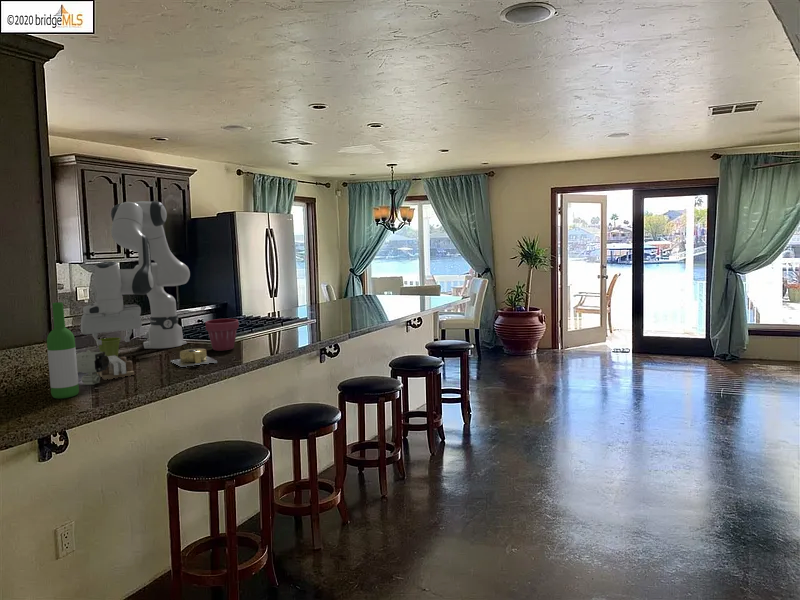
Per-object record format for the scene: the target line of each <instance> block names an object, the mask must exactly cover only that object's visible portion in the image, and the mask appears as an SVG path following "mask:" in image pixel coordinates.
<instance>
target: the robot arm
mask: <svg viewBox="0 0 800 600" xmlns="http://www.w3.org/2000/svg"><path fill="white" fill-rule="evenodd" d="M166 209H167V208H166V207H165V205H164V204H163V203H162V202H160V201H155V200H152V201H147V200H145V201H140V200H139V201H135V202H134V201H133V202H132V201H124V202H122V203H117V204H116V205H114V206H113V207H112V209H111V213H110V217H111V220H112V225H111V231H110V232H111V233H110V234H111V237H112V239H113V241H114V243H116V244H117V245H119V246H120V247H122V248H124V249H126V250H131V251H134V252H136V253H138V256H137V257H138V264H136V265H134V268H125V269H124V268H120V267H119V263H117V262H116V261H111V260H109V261H103V262H98V263H97V264H96V265H94V266H95V267H94V277H93V278H94V289H95V291H96V296H95V302H94V303H91V304H88V305H86V306H83V308H82V312H83V314H82V315H81V319H80V332H81V334H83V335H92V338H94V340H95V342H96V341H97V342H96V345H97V346H98V345H102V340H98V339H99V338H98V337H99V334H103V333H111V332H119V331H126V332H127V334H126V336H123V337H124V342H125V343H127V342H130V341H131V340H130V338H131V335H132V333H133V330H136V329H141V328H142V325H143V323H142V317H141V313H142V307H141V306H140V305H139V304H136V303H133V304H124V297H123V295H138V296H139V295H140V296H145V295H146V296H147V297H148V301H149V306H150V307H149V308H150V319H149V321H150V322H149V323H150V324H149V325H150V326H149V328H148V330H147V331H146V332H145V333H144V339H146V341H143V343H142V345H143V348H144V349H170V348H175V347H176V348H177V347H181V346H182V345H186V344H187V343H188V342H187V341H186V340H184V335H183V328H182V326H181V325H180V324H179V316H178V313H177V301H176V298H175V297H174V296H173V295H172V294H169V293H167V292H166V291H165V289H164V287H177V286H181V285H185V284H187V283H188V282H189V280H190V277H191V271H190V269H189V266H188V265H186V264H185V263H184V262H182V261H180V259H178V258H177V257H176V256H175V255H174V254H173V253H172V251H171V250H170V249H171V248H170V247H169V244H168V240H167V238H166V232H165V228H164V224H165V223H166V222H167V219H168V218H167V217H168V212H167V210H166ZM152 261H153V262H152ZM98 347H99V346H98Z"/></svg>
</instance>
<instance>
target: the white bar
mask: <svg viewBox="0 0 800 600" xmlns="http://www.w3.org/2000/svg"><path fill="white" fill-rule="evenodd" d="M107 357H108V358H109V365H108V366H109V371H110V372H111V373H112V374H113V375H119V372H120V373H121V374H126V363H125V362H124V361H123V360H121V359H120V358H119V356H118V357H117V356H115V355H114V356H107Z"/></svg>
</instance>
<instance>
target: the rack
mask: <svg viewBox="0 0 800 600" xmlns="http://www.w3.org/2000/svg"><path fill="white" fill-rule="evenodd" d="M118 358H120V359H121V360H123V361H124V362H125V363H126V374H121V373H120V372H119V375H113V374H112V373H111V372H110V371H109V366H108V367H107V368H106V370H103V371H101V372H95V374H98V376H99V377H100V378H101V377H102V378H101V379H102V380H104V381H106V380H107V379H108V380H112V379H113V378H115V379H119V378H118V377H122V378H126V377H125V376H128V377H132V376H131V375H134V376H135V371H134V369H133V360H127V356H118ZM113 380H114V379H113Z"/></svg>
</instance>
